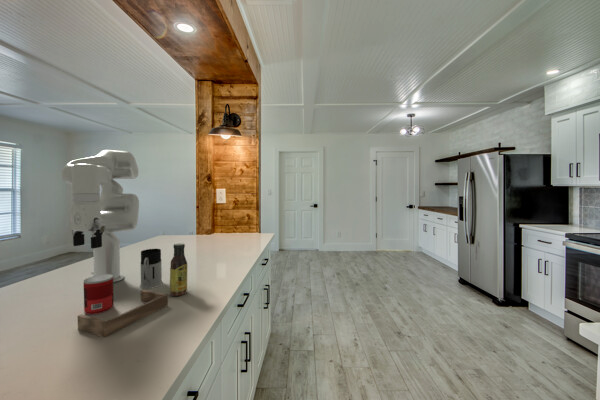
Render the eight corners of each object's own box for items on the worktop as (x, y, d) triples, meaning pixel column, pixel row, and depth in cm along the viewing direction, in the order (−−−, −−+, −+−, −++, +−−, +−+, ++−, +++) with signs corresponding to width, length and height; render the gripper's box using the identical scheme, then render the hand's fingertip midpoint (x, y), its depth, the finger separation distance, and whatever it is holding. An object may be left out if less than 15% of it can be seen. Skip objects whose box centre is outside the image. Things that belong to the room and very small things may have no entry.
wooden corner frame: (77, 329, 75) (77, 315, 74) (143, 300, 94) (143, 289, 94) (105, 337, 70) (105, 323, 70) (167, 305, 90) (167, 294, 90)
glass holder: (164, 280, 115) (164, 247, 115) (157, 292, 102) (156, 255, 101) (142, 282, 113) (142, 249, 112) (132, 294, 99) (131, 257, 99)
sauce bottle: (180, 297, 97) (179, 246, 96) (166, 296, 98) (165, 245, 97) (191, 291, 103) (190, 243, 103) (177, 289, 104) (177, 242, 104)
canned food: (118, 306, 89) (118, 275, 89) (94, 316, 82) (93, 283, 81) (104, 302, 92) (103, 273, 92) (78, 312, 84) (77, 280, 84)
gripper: (58, 198, 89) (60, 246, 90) (90, 199, 83) (91, 251, 84) (83, 198, 96) (84, 242, 97) (113, 199, 90) (114, 246, 91)
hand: (87, 246), depth 90 cm, fingers open, 9 cm apart
